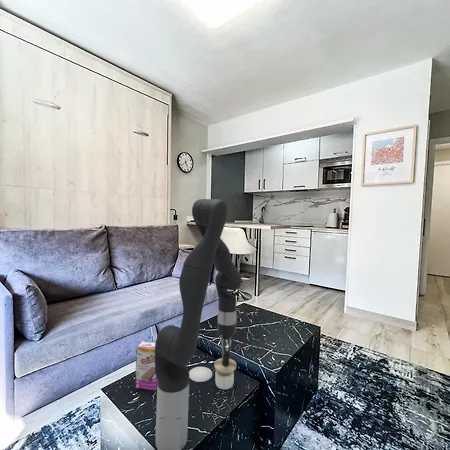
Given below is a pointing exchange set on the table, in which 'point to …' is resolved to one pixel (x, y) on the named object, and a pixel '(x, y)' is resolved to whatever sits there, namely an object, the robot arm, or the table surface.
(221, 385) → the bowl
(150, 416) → the table surface
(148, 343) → the candy bar box
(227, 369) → the lid
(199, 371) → the white round disc
